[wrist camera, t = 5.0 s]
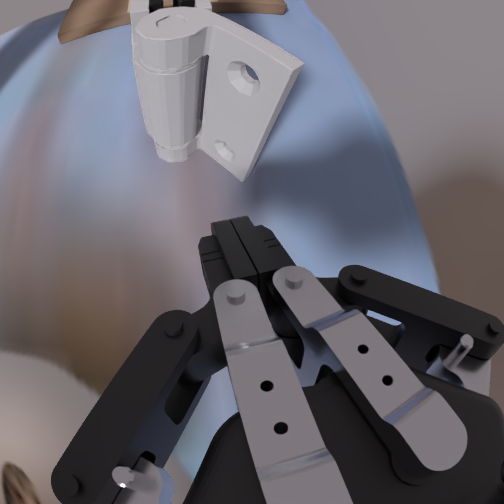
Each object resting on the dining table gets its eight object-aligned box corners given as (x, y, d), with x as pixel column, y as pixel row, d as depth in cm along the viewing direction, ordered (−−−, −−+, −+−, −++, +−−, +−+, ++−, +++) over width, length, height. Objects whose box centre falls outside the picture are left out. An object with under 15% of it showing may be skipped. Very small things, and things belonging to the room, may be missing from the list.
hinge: (253, 178, 18) (310, 69, 8) (174, 209, 16) (154, 102, 7) (184, 50, 19) (191, -46, 9) (123, 68, 17) (107, -29, 8)
